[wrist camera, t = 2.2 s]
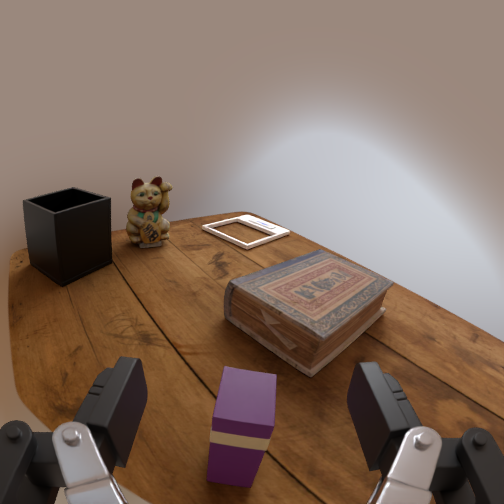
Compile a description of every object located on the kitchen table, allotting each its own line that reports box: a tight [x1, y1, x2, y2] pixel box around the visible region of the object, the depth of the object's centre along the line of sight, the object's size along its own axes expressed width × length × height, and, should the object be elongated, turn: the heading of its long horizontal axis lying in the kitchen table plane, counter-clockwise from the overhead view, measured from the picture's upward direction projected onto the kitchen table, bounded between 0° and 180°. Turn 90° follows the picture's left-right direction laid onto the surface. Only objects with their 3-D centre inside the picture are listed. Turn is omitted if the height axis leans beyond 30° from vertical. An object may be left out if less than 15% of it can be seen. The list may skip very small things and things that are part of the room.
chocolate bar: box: [207, 366, 277, 488], centre depth 23 cm, size 5×4×11 cm
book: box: [224, 249, 394, 377], centre depth 49 cm, size 17×7×25 cm
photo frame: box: [202, 215, 290, 249], centre depth 81 cm, size 15×1×18 cm
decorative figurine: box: [126, 176, 172, 248], centre depth 64 cm, size 10×8×15 cm
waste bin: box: [23, 187, 112, 287], centre depth 51 cm, size 12×12×13 cm
